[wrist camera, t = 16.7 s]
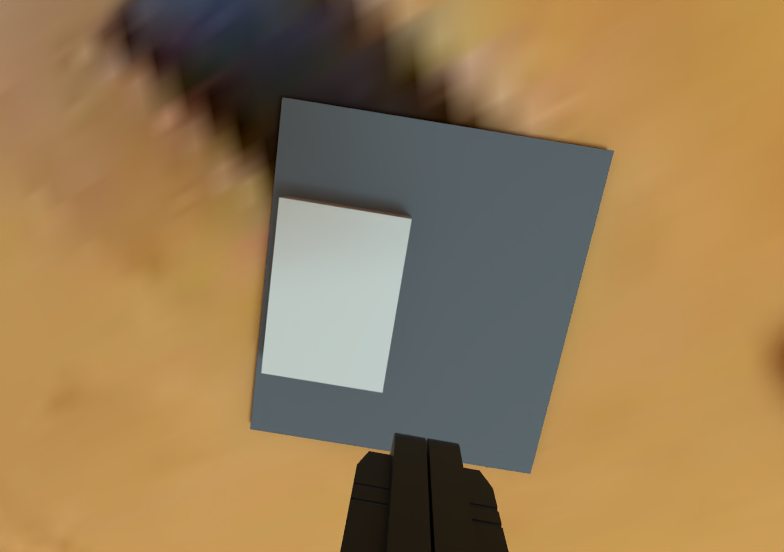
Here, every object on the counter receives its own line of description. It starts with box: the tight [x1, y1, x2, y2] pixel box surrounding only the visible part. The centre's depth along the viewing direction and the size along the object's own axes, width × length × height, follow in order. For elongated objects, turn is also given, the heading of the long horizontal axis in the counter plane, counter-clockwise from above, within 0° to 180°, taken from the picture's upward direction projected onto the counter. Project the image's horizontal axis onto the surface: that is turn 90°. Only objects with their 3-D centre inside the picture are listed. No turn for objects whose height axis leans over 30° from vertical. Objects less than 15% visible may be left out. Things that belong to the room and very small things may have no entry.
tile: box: [261, 196, 412, 393], centre depth 25 cm, size 10×2×7 cm
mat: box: [250, 97, 614, 474], centre depth 26 cm, size 20×18×1 cm
